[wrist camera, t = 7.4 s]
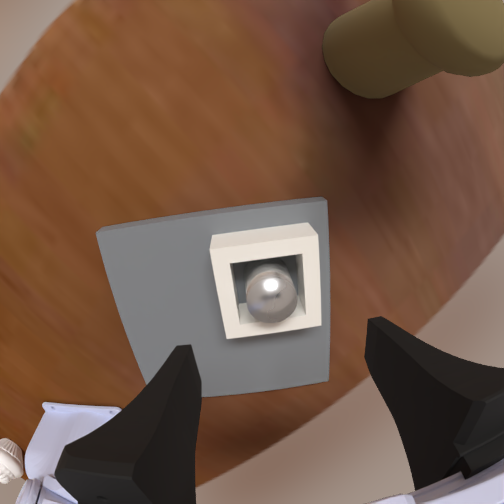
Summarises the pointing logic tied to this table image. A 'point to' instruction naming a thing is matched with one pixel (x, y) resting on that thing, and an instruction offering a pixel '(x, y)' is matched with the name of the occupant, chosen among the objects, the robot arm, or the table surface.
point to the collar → (261, 247)
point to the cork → (413, 43)
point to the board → (212, 297)
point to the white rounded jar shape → (10, 461)
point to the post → (269, 290)
